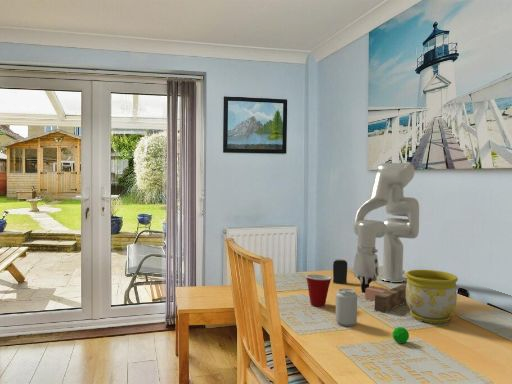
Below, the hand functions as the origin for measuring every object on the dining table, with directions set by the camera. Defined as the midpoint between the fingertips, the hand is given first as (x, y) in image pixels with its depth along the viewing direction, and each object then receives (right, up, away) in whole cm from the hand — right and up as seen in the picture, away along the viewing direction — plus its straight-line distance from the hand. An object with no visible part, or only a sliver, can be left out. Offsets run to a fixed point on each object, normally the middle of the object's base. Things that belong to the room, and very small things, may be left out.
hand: (365, 292), depth 191 cm
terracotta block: (+4, -3, -5) cm, 7 cm away
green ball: (-1, -5, -51) cm, 51 cm away
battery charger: (-6, -1, +25) cm, 26 cm away
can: (-15, -4, -34) cm, 37 cm away
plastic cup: (-22, -3, -12) cm, 25 cm away
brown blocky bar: (+10, -3, -10) cm, 14 cm away
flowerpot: (+18, -4, -26) cm, 32 cm away
